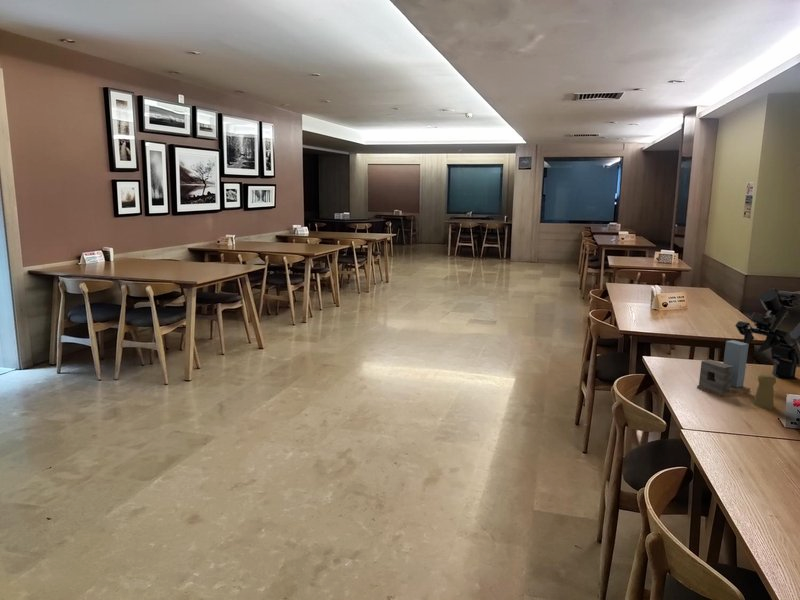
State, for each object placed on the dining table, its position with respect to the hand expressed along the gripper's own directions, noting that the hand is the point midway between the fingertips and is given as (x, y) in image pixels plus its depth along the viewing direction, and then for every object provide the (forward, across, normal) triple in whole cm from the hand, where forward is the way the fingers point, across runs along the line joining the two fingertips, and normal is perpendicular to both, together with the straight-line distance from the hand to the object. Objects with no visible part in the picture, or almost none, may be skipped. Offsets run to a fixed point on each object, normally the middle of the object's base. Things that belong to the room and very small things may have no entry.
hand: (750, 349), depth 214 cm
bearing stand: (+19, 0, 0) cm, 19 cm away
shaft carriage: (+17, 0, 0) cm, 17 cm away
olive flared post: (+21, +16, -1) cm, 26 cm away
